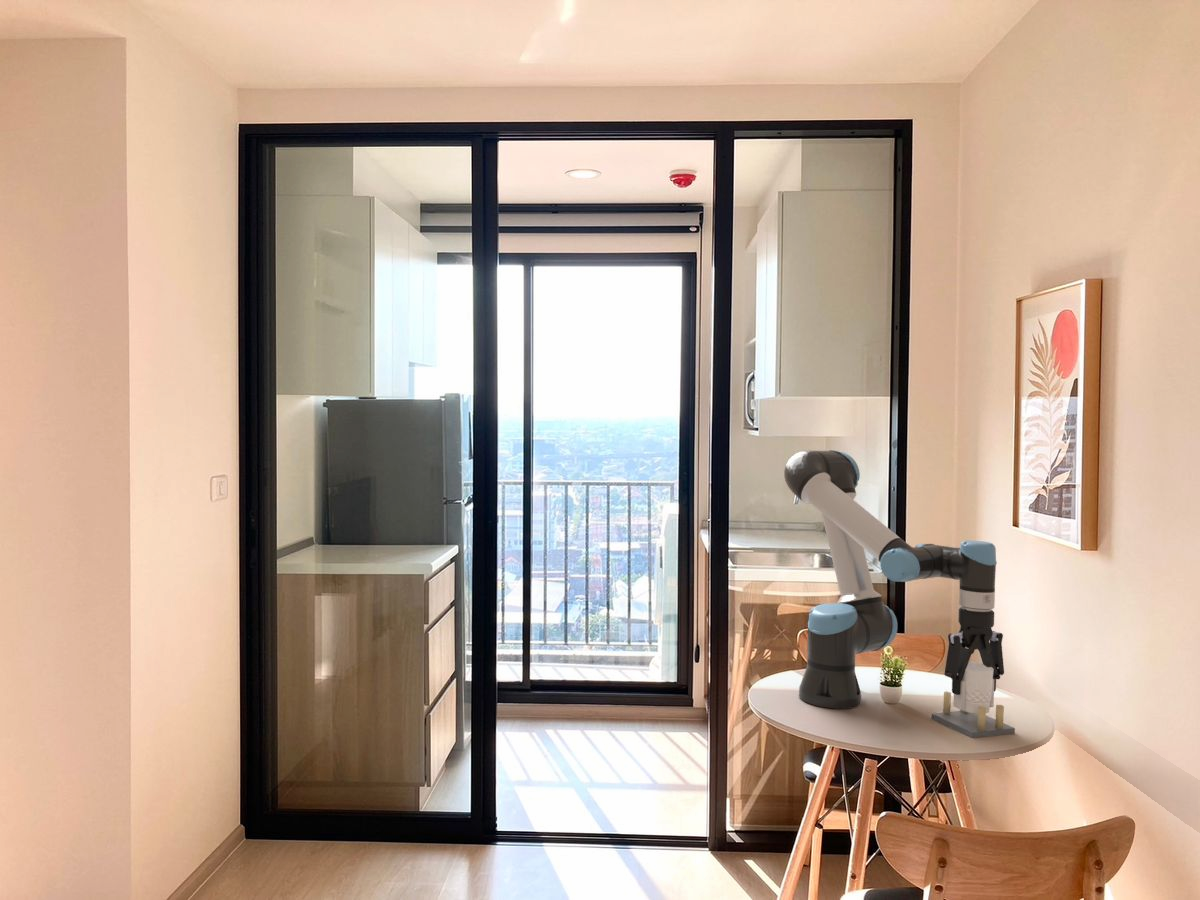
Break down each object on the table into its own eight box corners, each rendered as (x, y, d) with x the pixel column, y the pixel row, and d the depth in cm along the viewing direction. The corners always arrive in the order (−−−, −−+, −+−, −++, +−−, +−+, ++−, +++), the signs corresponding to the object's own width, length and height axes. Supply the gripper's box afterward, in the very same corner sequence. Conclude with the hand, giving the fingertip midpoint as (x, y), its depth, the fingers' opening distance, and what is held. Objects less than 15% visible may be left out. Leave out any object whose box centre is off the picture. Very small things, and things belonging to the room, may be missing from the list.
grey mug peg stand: (971, 737, 184) (972, 710, 184) (931, 718, 197) (932, 692, 197) (1014, 733, 188) (1015, 706, 188) (972, 714, 200) (973, 689, 200)
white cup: (998, 715, 188) (999, 671, 188) (963, 714, 188) (964, 670, 188) (983, 704, 196) (984, 662, 196) (949, 703, 196) (950, 661, 196)
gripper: (951, 613, 185) (948, 715, 185) (1024, 609, 192) (1021, 708, 192) (928, 606, 192) (925, 704, 193) (999, 603, 199) (996, 698, 199)
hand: (973, 706), depth 192 cm, fingers closed on white cup, 8 cm apart
